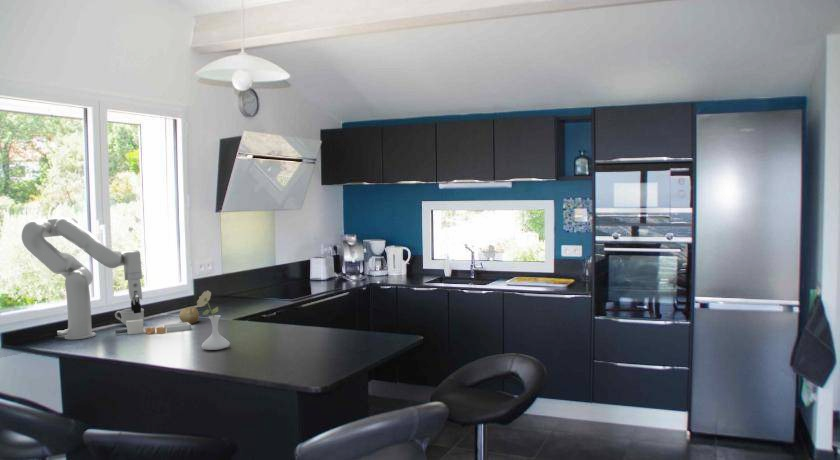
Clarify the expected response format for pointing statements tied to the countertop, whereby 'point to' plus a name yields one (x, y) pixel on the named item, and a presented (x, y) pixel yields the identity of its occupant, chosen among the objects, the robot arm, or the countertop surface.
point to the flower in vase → (215, 339)
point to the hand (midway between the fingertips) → (136, 311)
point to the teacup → (129, 315)
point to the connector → (132, 327)
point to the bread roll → (189, 315)
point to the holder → (177, 327)
